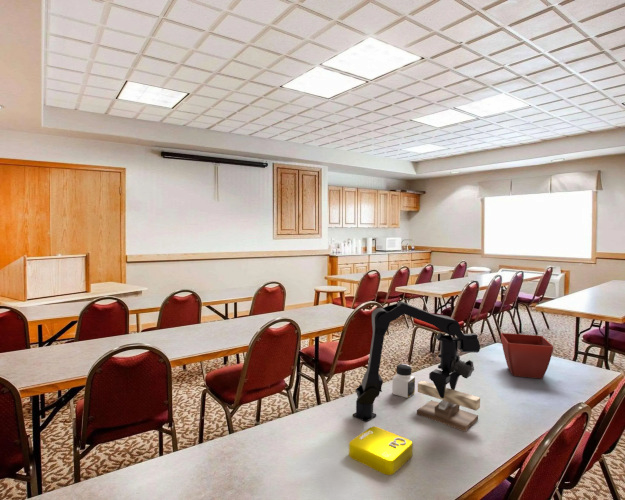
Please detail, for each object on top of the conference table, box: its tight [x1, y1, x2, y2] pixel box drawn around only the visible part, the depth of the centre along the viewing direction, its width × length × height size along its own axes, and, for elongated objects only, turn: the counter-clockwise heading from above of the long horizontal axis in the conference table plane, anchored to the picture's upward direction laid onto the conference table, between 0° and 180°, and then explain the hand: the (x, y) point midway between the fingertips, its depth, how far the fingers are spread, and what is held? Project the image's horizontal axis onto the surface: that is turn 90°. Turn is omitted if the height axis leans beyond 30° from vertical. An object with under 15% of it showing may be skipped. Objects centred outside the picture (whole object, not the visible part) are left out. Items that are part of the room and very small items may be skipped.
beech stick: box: [417, 380, 481, 411], centre depth 140 cm, size 22×4×4 cm, turn 47°
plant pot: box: [500, 332, 554, 380], centre depth 186 cm, size 19×19×17 cm
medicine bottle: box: [391, 363, 416, 399], centre depth 160 cm, size 7×7×12 cm
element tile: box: [348, 425, 414, 476], centre depth 116 cm, size 15×15×5 cm
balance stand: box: [416, 399, 479, 432], centre depth 140 cm, size 12×18×6 cm, turn 47°
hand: (447, 394), depth 140 cm, fingers open, 9 cm apart
